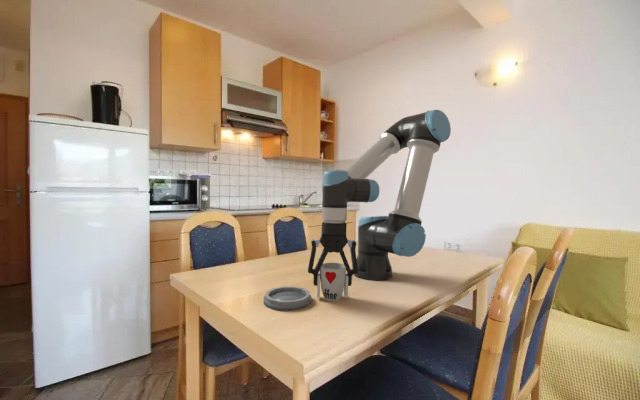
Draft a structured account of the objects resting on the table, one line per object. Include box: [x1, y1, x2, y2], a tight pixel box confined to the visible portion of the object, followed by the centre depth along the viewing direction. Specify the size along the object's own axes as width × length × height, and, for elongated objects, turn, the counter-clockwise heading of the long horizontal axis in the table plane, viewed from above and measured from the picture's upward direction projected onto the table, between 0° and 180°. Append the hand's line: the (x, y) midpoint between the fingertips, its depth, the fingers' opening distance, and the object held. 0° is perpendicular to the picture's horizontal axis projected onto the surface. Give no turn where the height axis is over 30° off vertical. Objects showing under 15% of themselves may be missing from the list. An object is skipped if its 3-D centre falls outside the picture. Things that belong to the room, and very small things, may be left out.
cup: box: [319, 262, 347, 302], centre depth 89 cm, size 8×8×10 cm
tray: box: [263, 285, 312, 312], centre depth 87 cm, size 14×14×2 cm
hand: (332, 295), depth 89 cm, fingers open, 8 cm apart
